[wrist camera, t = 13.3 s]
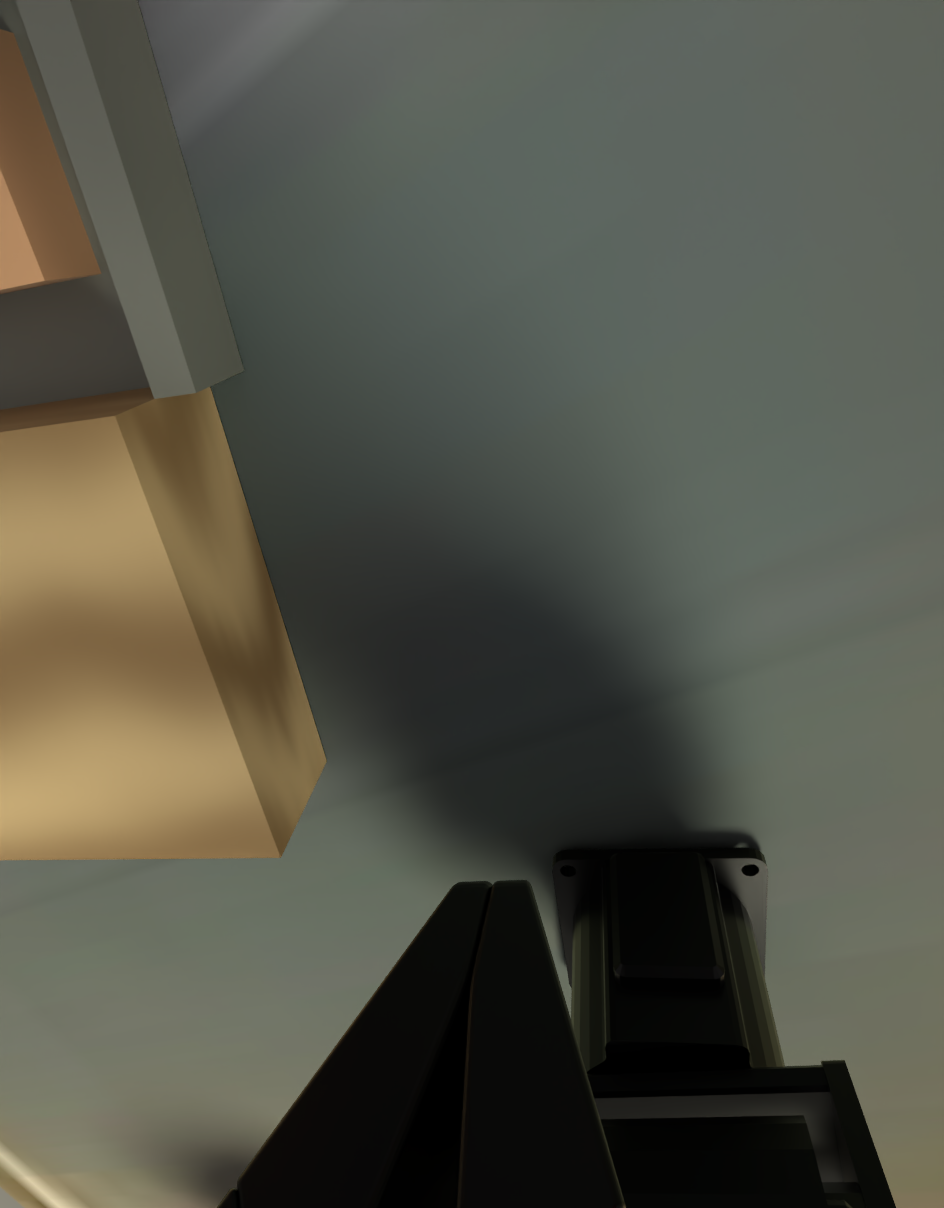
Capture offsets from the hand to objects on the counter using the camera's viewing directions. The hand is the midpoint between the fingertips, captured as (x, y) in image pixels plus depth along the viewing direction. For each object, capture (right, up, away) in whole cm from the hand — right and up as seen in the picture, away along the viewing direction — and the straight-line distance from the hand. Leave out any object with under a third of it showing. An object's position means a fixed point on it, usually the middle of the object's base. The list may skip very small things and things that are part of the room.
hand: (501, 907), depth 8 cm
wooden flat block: (-14, +3, +14) cm, 20 cm away
